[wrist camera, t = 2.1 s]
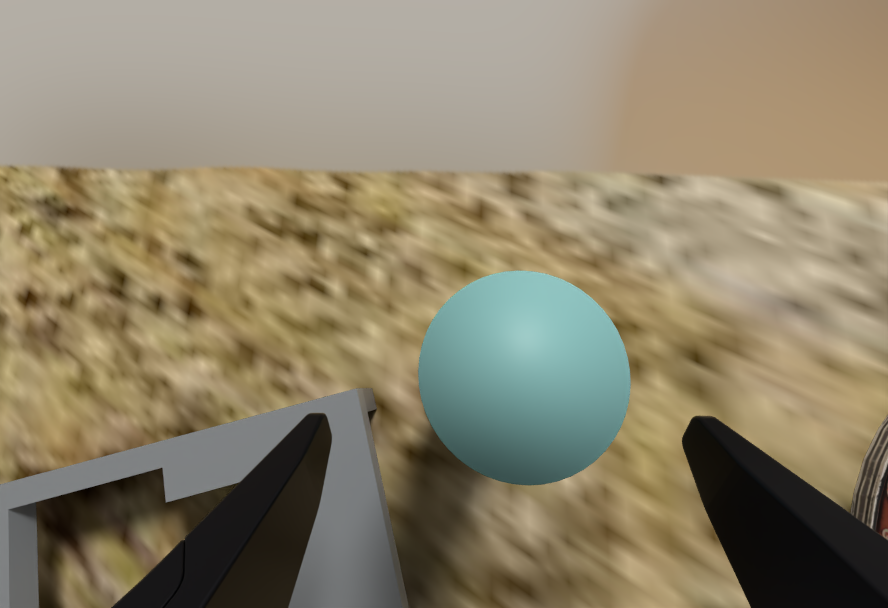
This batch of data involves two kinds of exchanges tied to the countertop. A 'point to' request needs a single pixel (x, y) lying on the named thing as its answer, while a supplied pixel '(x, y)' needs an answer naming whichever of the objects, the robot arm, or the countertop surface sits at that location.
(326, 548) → the keyhole plate
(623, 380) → the peg
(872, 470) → the lighter
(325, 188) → the countertop surface
